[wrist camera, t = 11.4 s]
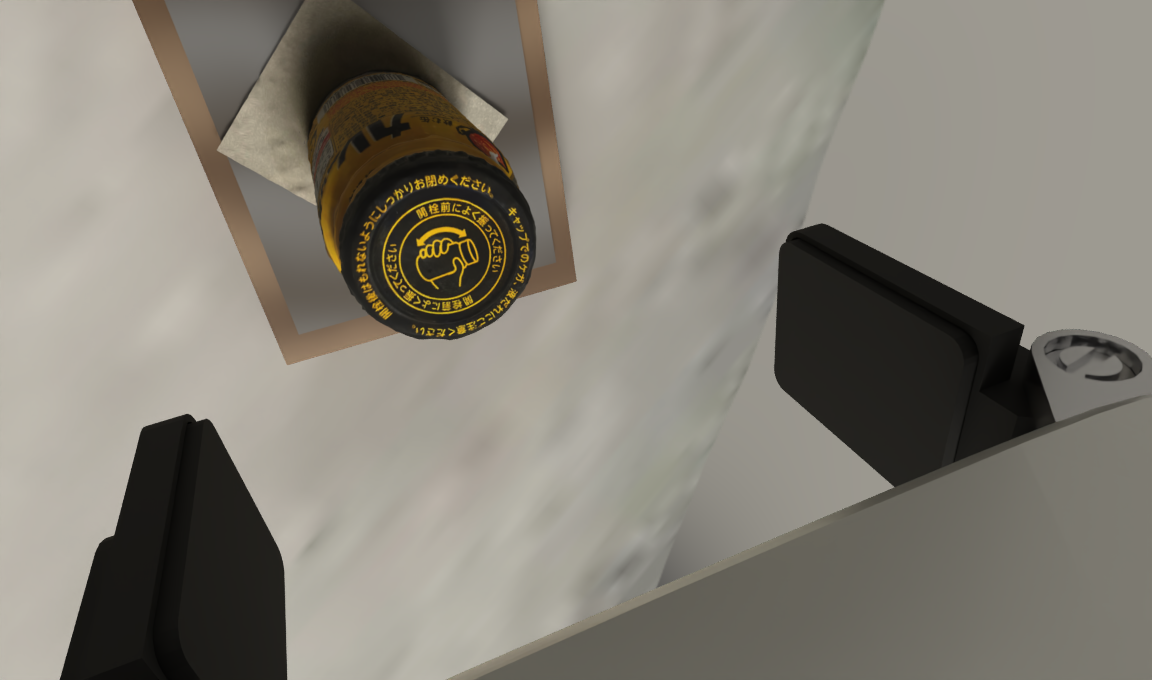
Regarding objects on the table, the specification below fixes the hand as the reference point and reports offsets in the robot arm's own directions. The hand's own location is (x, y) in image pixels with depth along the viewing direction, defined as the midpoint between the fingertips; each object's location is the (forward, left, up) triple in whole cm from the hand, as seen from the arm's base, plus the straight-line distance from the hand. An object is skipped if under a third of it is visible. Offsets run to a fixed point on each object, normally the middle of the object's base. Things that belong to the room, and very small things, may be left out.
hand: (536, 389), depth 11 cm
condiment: (0, 0, -20) cm, 20 cm away
